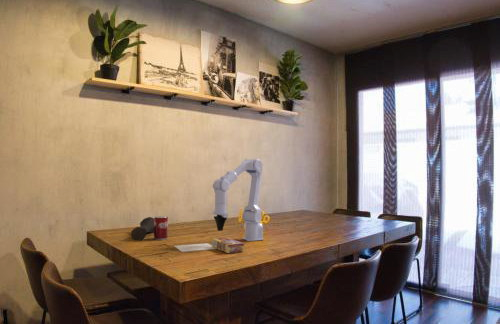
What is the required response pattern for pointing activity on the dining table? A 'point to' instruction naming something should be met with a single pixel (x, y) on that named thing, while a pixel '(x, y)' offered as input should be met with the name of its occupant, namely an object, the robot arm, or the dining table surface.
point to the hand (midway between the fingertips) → (220, 230)
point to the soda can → (160, 227)
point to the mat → (194, 247)
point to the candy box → (228, 245)
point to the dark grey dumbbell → (143, 228)
